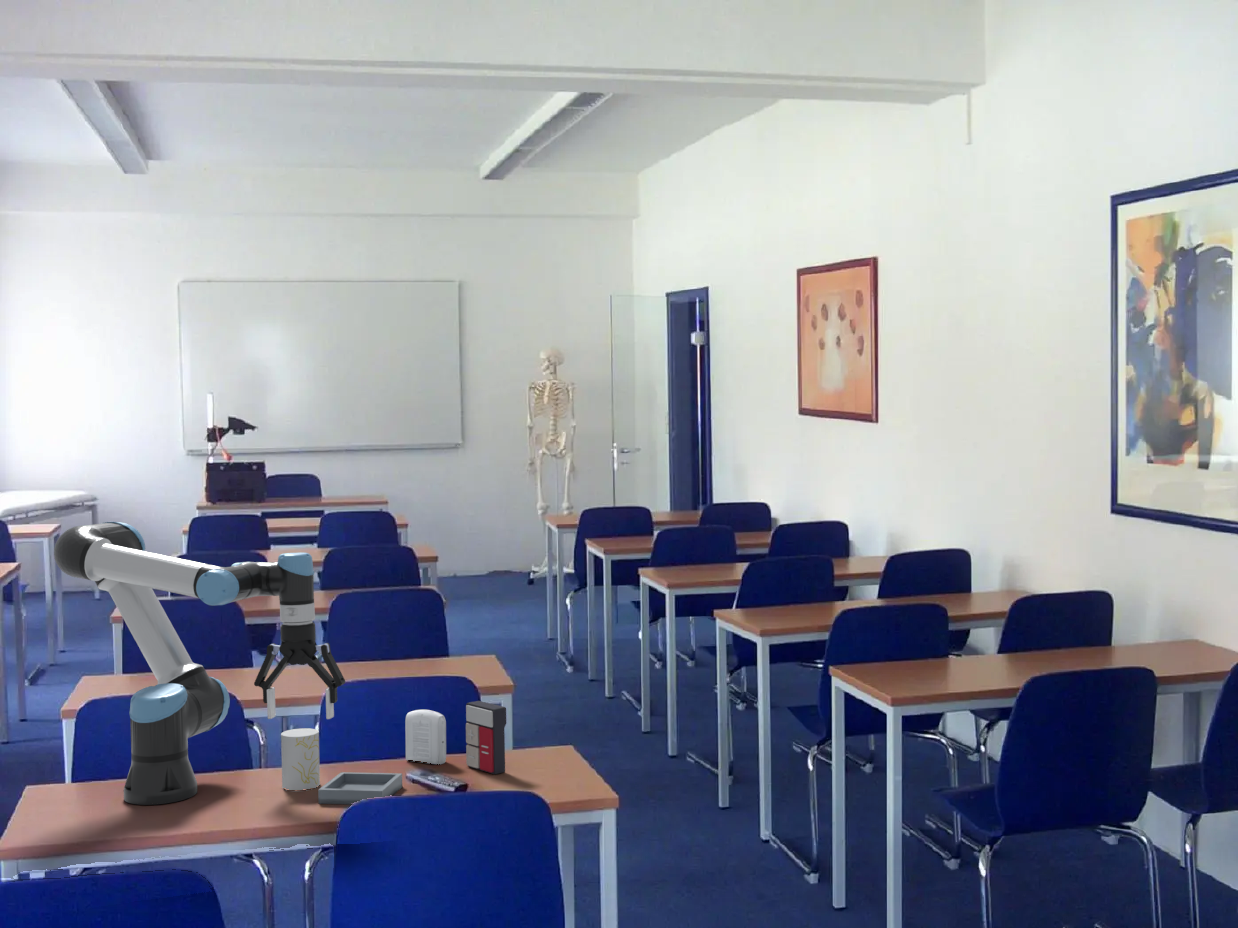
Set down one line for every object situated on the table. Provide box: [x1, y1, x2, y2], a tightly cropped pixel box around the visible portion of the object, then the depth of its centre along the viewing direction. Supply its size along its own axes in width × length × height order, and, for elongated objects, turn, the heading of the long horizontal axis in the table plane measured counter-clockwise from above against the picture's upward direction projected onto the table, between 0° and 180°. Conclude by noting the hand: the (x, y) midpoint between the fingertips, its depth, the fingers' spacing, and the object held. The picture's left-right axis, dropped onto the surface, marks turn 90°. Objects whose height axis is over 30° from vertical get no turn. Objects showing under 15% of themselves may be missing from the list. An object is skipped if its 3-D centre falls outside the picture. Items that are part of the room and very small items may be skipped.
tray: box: [317, 771, 403, 805], centre depth 281 cm, size 14×14×3 cm
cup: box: [280, 727, 321, 790], centre depth 289 cm, size 8×8×12 cm
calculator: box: [465, 700, 507, 775], centre depth 301 cm, size 11×4×15 cm, turn 42°
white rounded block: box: [404, 709, 447, 766], centre depth 309 cm, size 10×4×12 cm, turn 64°
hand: (300, 717), depth 289 cm, fingers open, 13 cm apart
